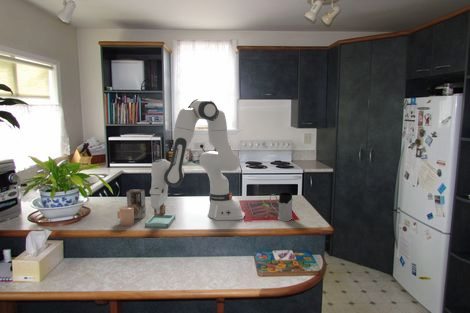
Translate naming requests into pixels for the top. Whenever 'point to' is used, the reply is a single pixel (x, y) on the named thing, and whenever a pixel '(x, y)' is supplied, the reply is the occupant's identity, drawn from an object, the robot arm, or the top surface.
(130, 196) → the coffee box
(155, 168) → the robot arm
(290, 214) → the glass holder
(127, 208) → the tan ball with tab
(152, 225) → the tray
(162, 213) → the walnut block
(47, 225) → the top surface
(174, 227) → the top surface
